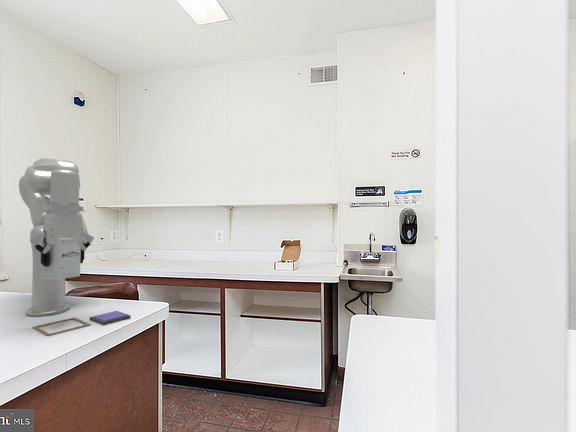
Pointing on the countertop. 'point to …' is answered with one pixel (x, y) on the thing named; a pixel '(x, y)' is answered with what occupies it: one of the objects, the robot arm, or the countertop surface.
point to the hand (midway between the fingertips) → (63, 264)
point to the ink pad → (110, 317)
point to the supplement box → (63, 260)
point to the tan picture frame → (62, 330)
